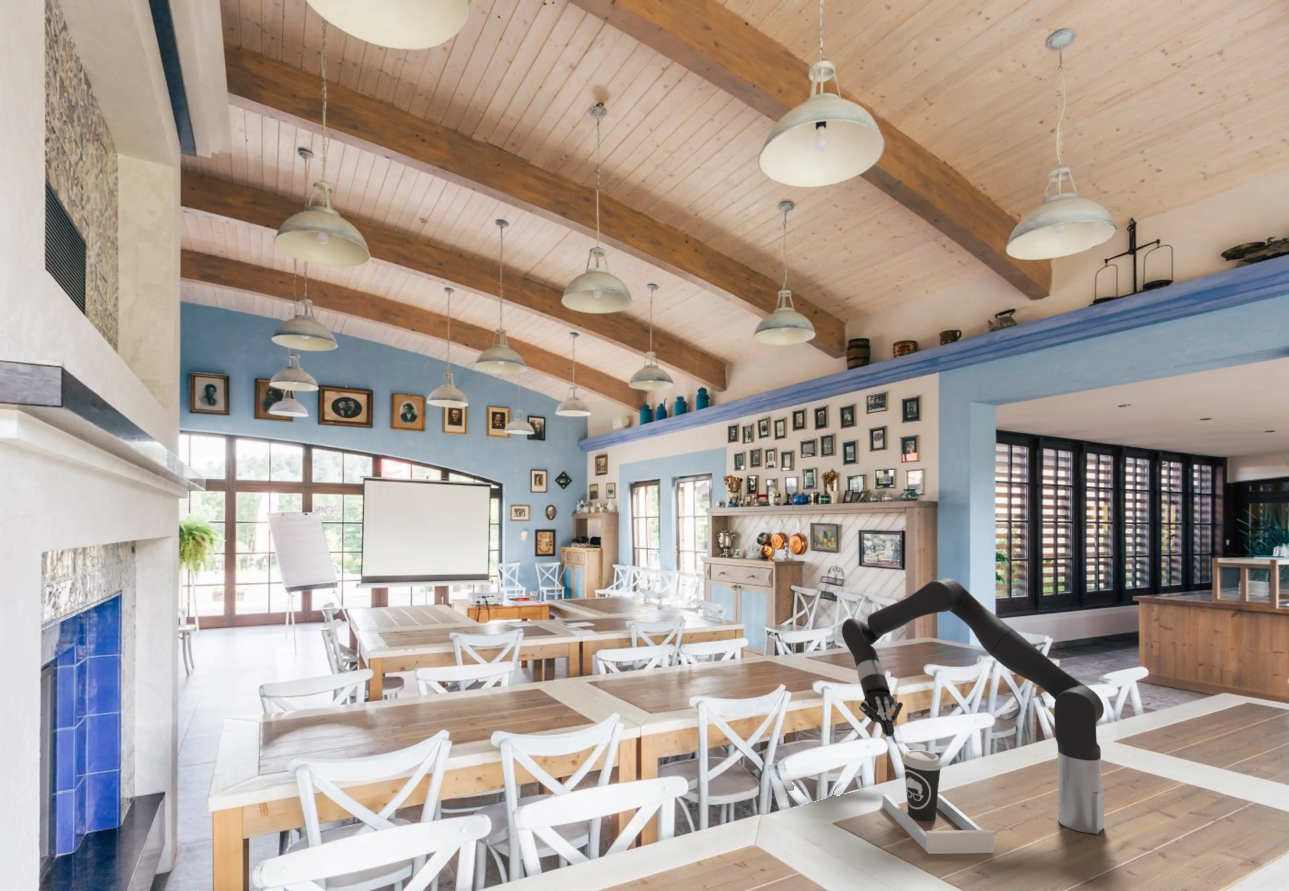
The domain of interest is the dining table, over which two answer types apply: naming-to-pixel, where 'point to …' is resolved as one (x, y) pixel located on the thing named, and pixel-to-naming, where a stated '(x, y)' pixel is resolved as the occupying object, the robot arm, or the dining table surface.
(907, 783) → the coffee cup
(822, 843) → the dining table surface
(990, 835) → the white rectangular tray frame
